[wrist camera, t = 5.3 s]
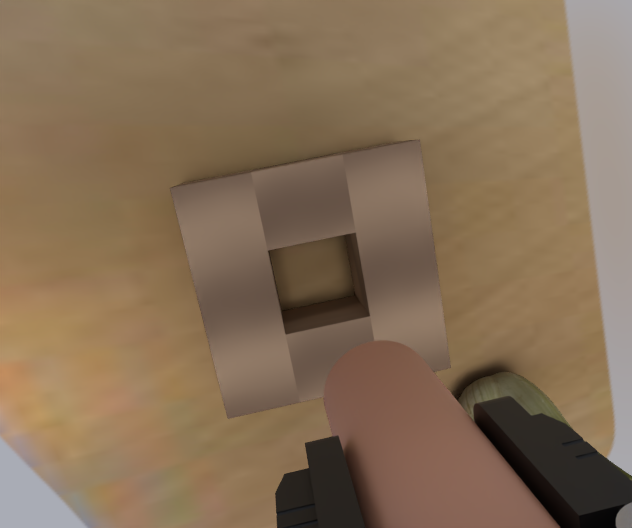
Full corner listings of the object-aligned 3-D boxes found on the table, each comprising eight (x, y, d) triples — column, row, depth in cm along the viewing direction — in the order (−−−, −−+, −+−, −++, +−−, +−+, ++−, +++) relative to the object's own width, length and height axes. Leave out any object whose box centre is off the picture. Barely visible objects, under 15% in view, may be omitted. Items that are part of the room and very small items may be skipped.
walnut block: (182, 183, 28) (170, 188, 24) (397, 141, 28) (419, 139, 25) (231, 385, 30) (227, 418, 26) (426, 341, 31) (450, 367, 27)
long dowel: (314, 354, 13) (464, 882, 4) (424, 329, 14) (850, 767, 4) (334, 455, 14) (508, 1132, 4) (440, 429, 14) (835, 1022, 4)
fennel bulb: (469, 457, 33) (584, 620, 22) (424, 407, 32) (519, 550, 20) (538, 399, 33) (693, 533, 21) (495, 347, 32) (633, 458, 20)
